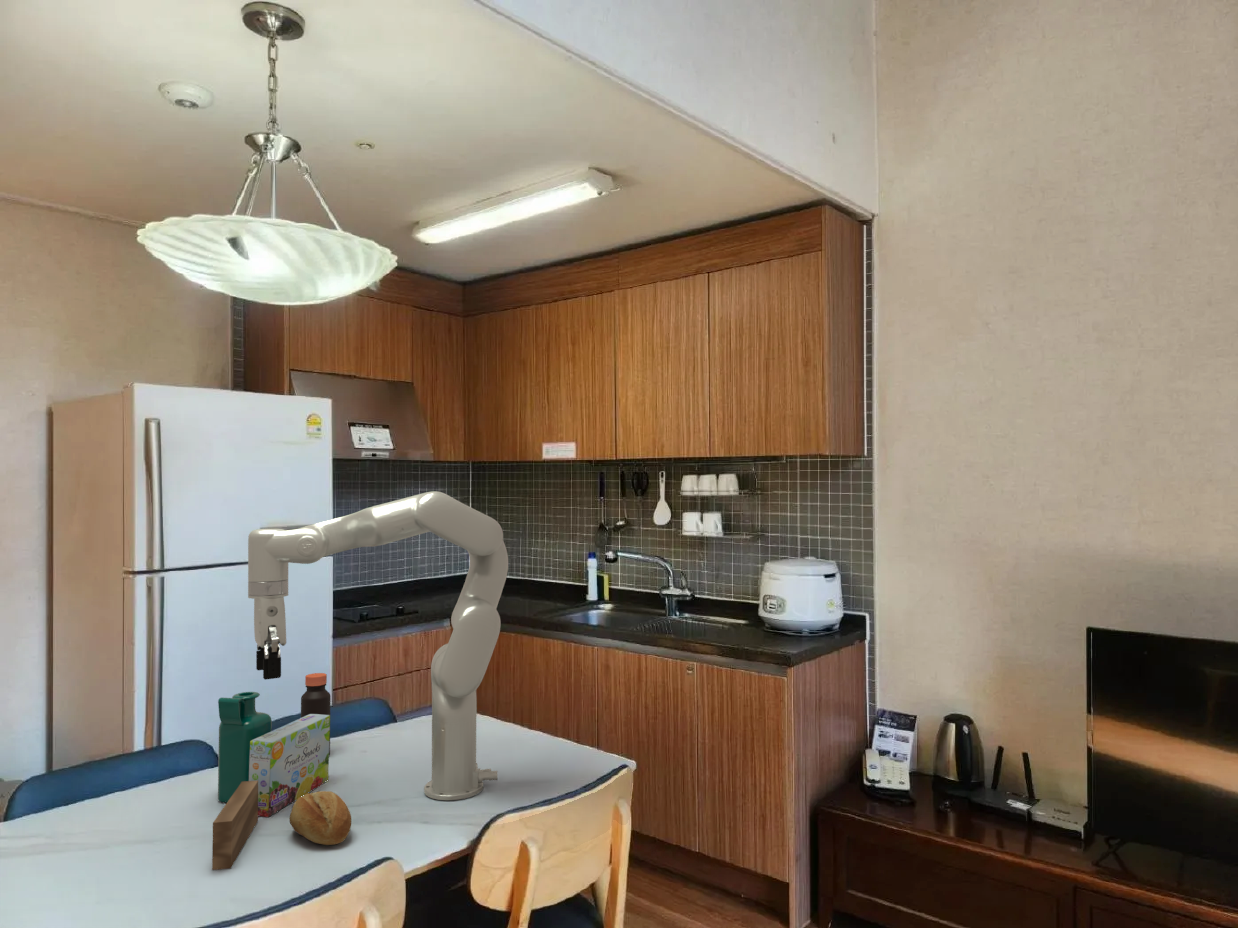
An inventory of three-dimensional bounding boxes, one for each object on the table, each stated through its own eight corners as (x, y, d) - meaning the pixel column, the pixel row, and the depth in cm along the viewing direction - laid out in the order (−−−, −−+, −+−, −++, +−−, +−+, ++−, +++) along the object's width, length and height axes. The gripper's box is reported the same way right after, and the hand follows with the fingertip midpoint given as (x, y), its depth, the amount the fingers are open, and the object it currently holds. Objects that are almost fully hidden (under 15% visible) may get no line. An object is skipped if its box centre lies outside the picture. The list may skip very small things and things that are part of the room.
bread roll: (313, 858, 140) (314, 812, 140) (277, 833, 150) (277, 791, 150) (363, 840, 147) (363, 797, 147) (325, 818, 157) (325, 777, 157)
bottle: (294, 758, 193) (295, 675, 193) (319, 750, 198) (319, 670, 199) (311, 763, 189) (312, 679, 190) (335, 755, 194) (336, 674, 195)
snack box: (271, 818, 157) (272, 741, 158) (246, 816, 158) (247, 740, 159) (330, 780, 178) (331, 713, 178) (308, 779, 179) (308, 711, 180)
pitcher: (240, 787, 173) (242, 686, 174) (274, 790, 172) (276, 688, 173) (208, 804, 164) (210, 698, 165) (244, 808, 162) (246, 700, 163)
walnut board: (257, 821, 155) (258, 780, 156) (231, 868, 136) (231, 820, 136) (241, 822, 155) (241, 781, 155) (212, 869, 135) (212, 822, 136)
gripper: (295, 591, 156) (295, 679, 155) (281, 584, 170) (281, 663, 170) (254, 595, 152) (254, 684, 151) (243, 586, 166) (242, 668, 166)
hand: (268, 673), depth 160 cm, fingers open, 9 cm apart
